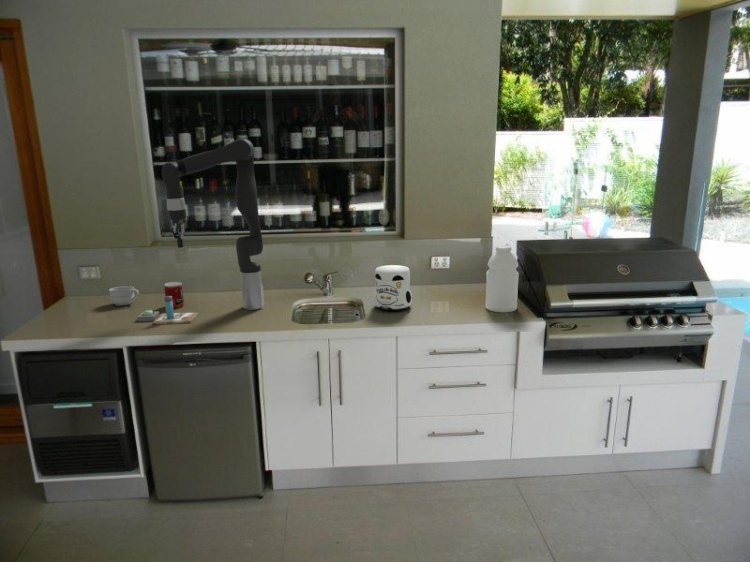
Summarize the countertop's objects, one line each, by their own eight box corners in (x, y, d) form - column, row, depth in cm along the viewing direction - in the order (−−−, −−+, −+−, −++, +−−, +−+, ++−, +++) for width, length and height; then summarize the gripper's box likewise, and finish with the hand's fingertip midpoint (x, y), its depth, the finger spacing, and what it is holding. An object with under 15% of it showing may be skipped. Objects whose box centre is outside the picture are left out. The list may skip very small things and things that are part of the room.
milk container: (378, 314, 243) (377, 274, 239) (370, 303, 260) (369, 265, 255) (416, 311, 247) (416, 272, 242) (406, 300, 263) (406, 263, 258)
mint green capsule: (154, 316, 246) (153, 310, 245) (151, 319, 243) (150, 312, 242) (146, 316, 246) (145, 310, 245) (143, 319, 242) (142, 312, 242)
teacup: (106, 306, 264) (103, 289, 262) (124, 299, 273) (121, 284, 271) (128, 309, 258) (126, 292, 256) (146, 302, 268) (144, 286, 266)
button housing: (159, 315, 248) (159, 311, 247) (154, 320, 241) (153, 316, 241) (143, 316, 248) (143, 311, 247) (137, 321, 241) (137, 316, 240)
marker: (175, 316, 243) (172, 295, 241) (172, 318, 240) (170, 297, 238) (167, 317, 242) (165, 296, 241) (165, 319, 239) (163, 297, 238)
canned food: (178, 309, 257) (176, 286, 254) (163, 308, 258) (160, 285, 255) (187, 304, 264) (185, 281, 261) (172, 303, 265) (169, 281, 263)
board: (198, 314, 249) (198, 311, 249) (191, 322, 237) (190, 320, 237) (162, 315, 248) (161, 312, 248) (153, 324, 237) (152, 321, 236)
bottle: (479, 308, 249) (480, 247, 242) (495, 301, 259) (497, 242, 251) (507, 315, 240) (509, 251, 232) (523, 307, 249) (526, 246, 242)
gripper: (172, 206, 251) (176, 244, 255) (163, 210, 238) (167, 250, 242) (189, 206, 251) (193, 244, 255) (180, 210, 238) (185, 250, 243)
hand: (180, 247), depth 249 cm, fingers closed
